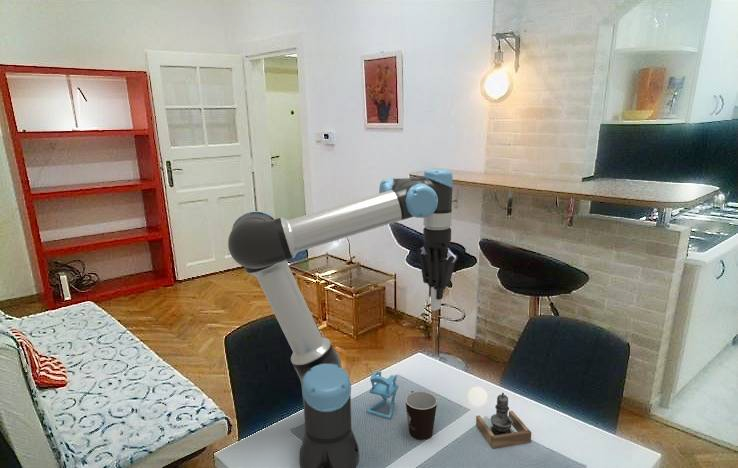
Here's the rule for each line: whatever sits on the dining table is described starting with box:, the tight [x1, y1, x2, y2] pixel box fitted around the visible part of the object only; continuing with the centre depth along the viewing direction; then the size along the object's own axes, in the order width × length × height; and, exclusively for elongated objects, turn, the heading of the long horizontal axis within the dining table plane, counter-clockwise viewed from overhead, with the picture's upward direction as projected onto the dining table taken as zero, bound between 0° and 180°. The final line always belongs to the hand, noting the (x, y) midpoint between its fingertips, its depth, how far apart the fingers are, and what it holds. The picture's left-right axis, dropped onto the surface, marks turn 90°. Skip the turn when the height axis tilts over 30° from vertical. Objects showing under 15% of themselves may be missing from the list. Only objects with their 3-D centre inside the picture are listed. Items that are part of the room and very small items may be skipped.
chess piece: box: [490, 392, 513, 435], centre depth 123 cm, size 6×6×12 cm
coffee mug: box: [404, 390, 438, 441], centre depth 125 cm, size 12×9×10 cm
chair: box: [366, 370, 399, 421], centre depth 134 cm, size 8×8×12 cm
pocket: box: [475, 410, 532, 450], centre depth 123 cm, size 10×11×3 cm
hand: (435, 308), depth 127 cm, fingers closed
